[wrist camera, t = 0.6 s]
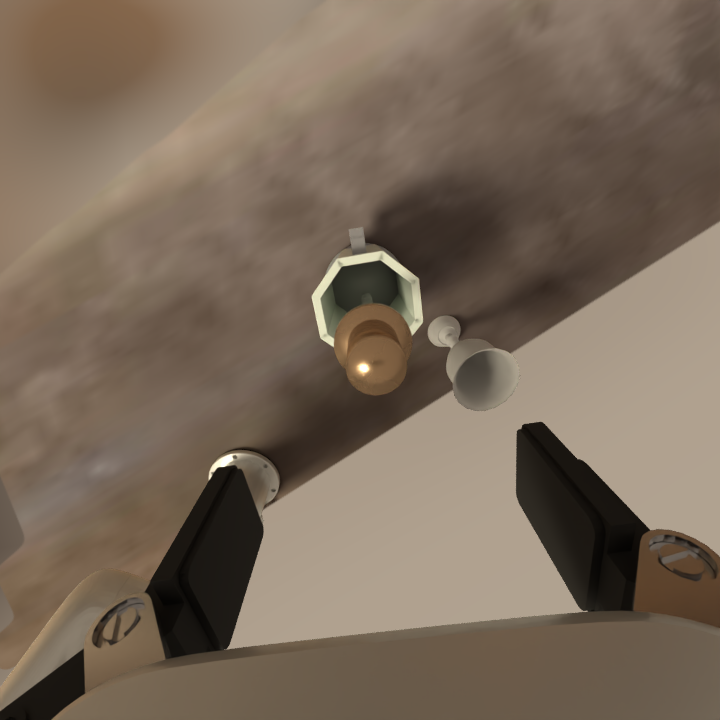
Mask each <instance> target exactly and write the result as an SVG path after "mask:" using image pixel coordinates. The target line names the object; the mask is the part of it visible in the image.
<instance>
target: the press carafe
mask: <svg viewBox="0 0 720 720" xmlns="http://www.w3.org/2000/svg"><path fill="white" fill-rule="evenodd" d="M349 235H350V241H351V246H349V247H347V248H345V249H343V250H342V251H341V252H339V253H338V254H337V255H336V256H335V257H334V259H333V260H332V261H331V263H330V265H329V267H328V269H327V272H326V276H325V277H324V279H323V280H322V282H321V283H320V285H319V286H318V288H317V289H316V291H315V292H314V294H313V295H312V300H313V305H314V310H315V314H316V319H317V324H318V328H319V333H320V338H321V339H322V340H324V341H325V342H327V343H328V344H330V345H331V346H333V347H334V337H335V332H336V328H337V326H338V324H339V322H340V320H341V319H342V318H343V316H344V315H345V314H346V313H347V312H348V311H350V310H351V309H353V308H355V307H357V306H359V305H362V295H363V294H365V293H369V294H370V295H371V297H372V301H373V303H380V304H384V305H387V306H390V307H392V308H393V309H395V310H396V311H398V312H399V313H400V314H401V315H402V316H403V317H404V319H405V320H406V322H407V324H408V326H409V328H410V331H411V334H412V335H413V334H414V333H415V332H416V330H417V329H418V328H419V327H420V325H421V324H422V323H423V316H422V306H421V295H420V285H419V278H417V277H416V276H415V275H414V274H412V273H411V272H410V271H409V270H408V269H406V268H405V267H404V266H403V265H401V264H400V263H399V261H398V260H397V259H396V257H395V256H394V255H393V254H392V253H391V252H389V251H388V250H386V249H385V248H383V247H381V246H379V245H376V244H371V243H365V239H364V232H363V227H360V228H355V229H349Z"/></svg>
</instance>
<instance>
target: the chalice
mask: <svg viewBox="0 0 720 720" xmlns="http://www.w3.org/2000/svg"><path fill="white" fill-rule="evenodd" d="M460 330H461V328H460V324H459V322H458V321H457V320H456V319H455V318H454V317H451V316H440V317H438V318H436V319H435V320H433V321H432V323H431V324H430V326H429V328H428V337H429V340H430V341H431V342H432V343H433V344H434V345H436V346H439V347H447V346H449V347H450V348H451V350H450V352H449V354H448V358H447V364H446V370H447V375H448V377H449V378H450V380H451V381H452V383H453V391H454V396H455V397H456V399H457V400H458V402H459V403H460V404H461V405H463V406H464V407H465V408H467V409H471V410H475V411H486V410H489V409H492V408H495V407H497V406H499V405H500V404H502V403H503V402H505V401H506V400H507V399H508V398H509V397H510V396H511V395H512V394H513V392H514V390H515V389H516V387H517V385H518V381H519V377H520V372H519V365H518V363H517V361H516V360H515V357H513V356H512V355H511V354H510V353H508V352H507V351H504V350H501V349H497V348H495V347H493V346H492V345H491V344H490V343H489V342H487V341H485V340H482V339H465V340H462V341H460V340H459V339H458V338H459V335H460Z"/></svg>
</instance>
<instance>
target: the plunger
mask: <svg viewBox="0 0 720 720" xmlns="http://www.w3.org/2000/svg"><path fill="white" fill-rule="evenodd" d="M334 350H335V354H336V357H337V359H338V361H339V362H340V364H341V365H342V366H343V368H344V369H345V370H346V373H347V376H348V379H349V381H350V382H351V384H352V385H353V386H354V387H355V388H356V389H357V390H359V391H361V392H363V393H365V394H369V395H383V394H387V393H389V392H391V391H393V390H395V389H396V388H397V387H398V386H399V385H400V384H401V383H402V381H403V380H404V378H405V375H406V372H407V360H408V358H409V356H410V353H411V350H412V334H411V331H410V328H409V326H408V324H407V322H406V320H405V319H404V317H403V316H402V315H401V314H400V313H399V312H398V311H396V310H395V309H393V308H392V307H390V306H387V305H384V304H380V303H373V301H372V297H371V295H370V294H369V293H365V294H363V295H362V305H359V306H357V307H355V308H353V309H351V310H350V311H348V312H347V313H346V314H345V315H344V316H343V318H342V319H341V320H340V322H339V324H338V326H337V328H336V332H335V337H334Z"/></svg>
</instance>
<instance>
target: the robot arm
mask: <svg viewBox="0 0 720 720" xmlns="http://www.w3.org/2000/svg"><path fill="white" fill-rule="evenodd" d="M516 459H517V460H516V462H517V463H516V470H517V471H516V495H517V498H518V501H519V504H520V506H521V507H522V509H523V511H524V513H525V514H526V516H527V518H528V520H529V521H530V523H531V525H532V527H533V528H534V530H535V532H536V533H537V535H538V537H539V539H540V540H541V542H542V544H543V546H544V547H545V549H546V551H547V553H548V554H549V556H550V558H551V560H552V561H553V563H554V565H555V566H556V568H557V570H558V572H559V573H560V575H561V577H562V579H563V580H564V582H565V584H566V586H567V587H568V589H569V591H570V592H571V594H572V596H573V598H574V599H575V601H576V603H577V605H578V606H579V607H580V609H582V610H583V611H586V610H587V611H588V612H579V613H567V614H555V615H543V616H532V617H521V618H511V619H501V620H491V621H481V622H471V623H461V624H452V625H442V626H433V627H423V628H413V629H404V630H396V631H385V632H376V633H367V634H358V635H349V636H340V637H330V638H322V639H312V640H304V641H295V642H287V643H278V644H268V645H260V646H251V647H243V648H235V649H229V650H224V649H227V648H228V646H229V644H230V642H231V638H232V635H233V632H234V629H235V625H236V622H237V619H238V616H239V612H240V609H241V606H242V603H243V599H244V596H245V593H246V590H247V586H248V583H249V580H250V577H251V573H252V570H253V567H254V564H255V560H256V557H257V554H258V551H259V548H260V544H261V541H262V538H263V524H262V523H263V521H264V520H263V517H262V515H261V514H262V511H263V508H264V505H265V504H267V503H268V502H270V501H271V500H272V499H273V498H274V497H275V495H276V494H277V492H278V489H279V485H280V476H279V473H278V470H277V469H276V467H275V466H274V464H273V463H272V462H271V461H270V460H269V459H267V458H266V457H264V456H263V455H261V454H258V453H256V452H253V451H248V450H235V451H230V452H227V453H225V454H223V455H221V456H220V457H219V458H217V460H216V461H215V462H214V463H213V465H212V467H211V469H210V471H209V482H208V483H207V485H206V487H205V488H204V490H203V492H202V494H201V495H200V497H199V499H198V500H197V502H196V504H195V506H194V507H193V509H192V511H191V512H190V514H189V516H188V517H187V519H186V521H185V523H184V524H183V526H182V528H181V529H180V531H179V533H178V535H177V536H176V538H175V540H174V541H173V543H172V545H171V546H170V548H169V550H168V552H167V553H166V555H165V557H164V558H163V560H162V562H161V564H160V565H159V567H158V569H157V570H156V572H155V574H154V575H153V577H152V579H151V581H150V580H147V579H144V578H142V577H139V576H136V575H133V574H130V573H127V572H124V571H120V570H117V569H101V570H98V571H96V572H94V573H92V574H90V575H89V576H88V577H86V578H85V579H84V580H83V581H82V582H81V583H80V584H79V585H78V586H77V587H76V588H75V589H74V590H73V591H72V592H71V594H70V595H69V596H68V597H67V598H66V600H65V601H64V602H63V604H62V605H61V606H60V607H59V609H58V610H57V611H56V613H55V614H54V615H53V617H52V618H51V619H50V621H49V622H48V623H47V625H46V626H45V627H44V629H43V630H42V631H41V633H40V634H39V636H38V637H37V638H36V640H35V641H34V642H33V644H32V645H31V646H30V648H29V649H28V650H27V652H26V653H25V654H24V656H23V657H22V659H21V660H20V661H19V663H18V664H17V665H16V667H15V668H14V669H13V671H12V672H11V674H10V675H9V676H8V677H7V679H6V680H5V682H4V683H3V684H2V686H1V687H0V720H720V557H719V555H717V554H716V553H715V552H714V551H713V550H712V549H710V548H709V547H708V546H707V545H705V544H703V543H702V542H700V541H698V540H696V539H694V538H692V537H690V536H688V535H685V534H683V533H680V532H676V531H672V530H663V529H656V530H650V529H649V528H648V527H647V526H646V525H645V524H644V523H643V522H642V521H641V520H640V519H639V518H638V517H637V516H636V515H635V514H634V513H633V512H632V511H631V510H630V508H629V507H627V505H626V504H625V503H624V502H623V501H622V500H621V499H620V498H619V497H618V496H617V495H616V494H615V493H614V492H613V491H612V490H611V489H610V488H609V487H608V485H607V484H606V483H605V482H604V481H603V480H602V479H601V478H600V477H599V476H598V475H597V474H596V473H595V472H594V471H593V470H592V469H591V468H590V467H589V466H588V465H587V464H586V463H585V462H584V461H582V460H580V459H577V458H576V457H575V456H574V455H573V454H572V453H571V452H570V451H569V450H568V449H567V448H566V447H565V445H563V443H562V442H561V441H560V440H559V439H558V438H557V437H556V436H555V435H554V434H553V433H552V432H551V430H550V429H549V428H548V427H547V426H546V425H545V424H544V423H543V422H536V423H529V424H524V425H522V429H519V430H518V431H517V457H516Z"/></svg>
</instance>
